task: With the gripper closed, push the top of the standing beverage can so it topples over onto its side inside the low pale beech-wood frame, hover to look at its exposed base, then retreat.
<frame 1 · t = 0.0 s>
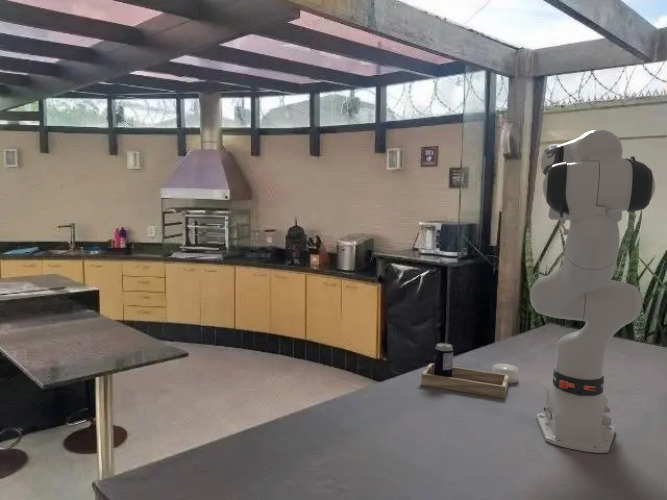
hand: (582, 235, 161), 48 cm above the table, fingers open, 8 cm apart
soap bar: (504, 379, 172), on the table
beverage can: (442, 382, 168), resting in frame
frame: (464, 385, 165), on the table
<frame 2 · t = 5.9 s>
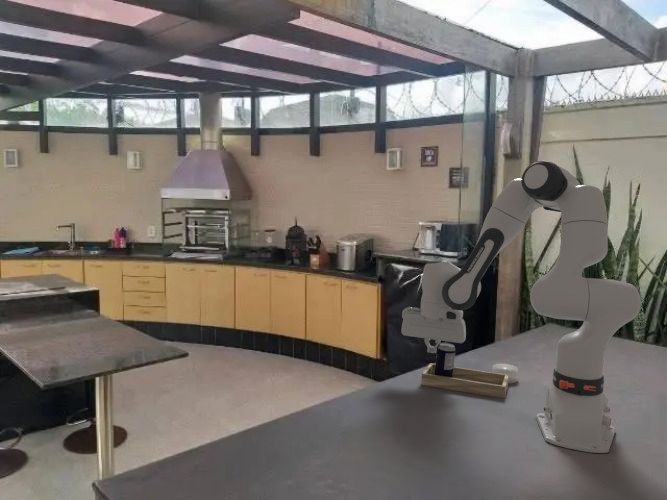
hand: (431, 352, 168), 9 cm above the table, fingers closed
beverage can: (442, 381, 168), resting in frame, touching gripper
everything else where it was.
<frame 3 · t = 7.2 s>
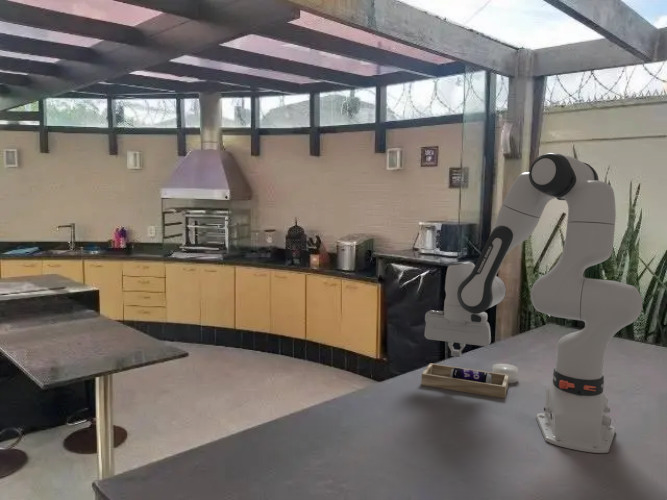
hand: (456, 356, 165), 9 cm above the table, fingers closed
beverage can: (450, 376, 165), point 3 cm above the table, touching frame
everything else where it was.
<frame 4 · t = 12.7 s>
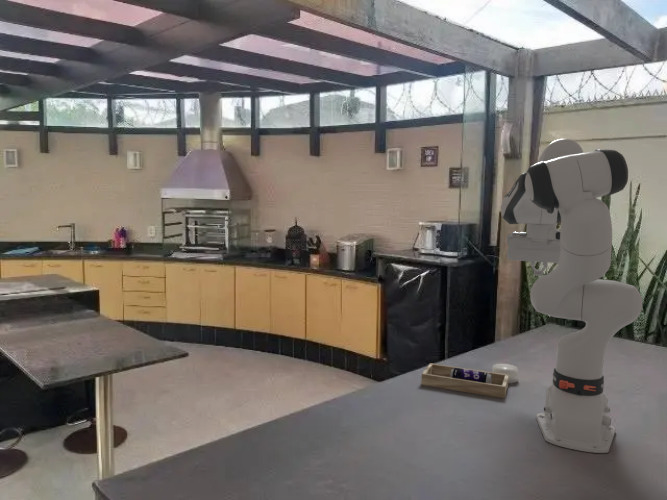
hand: (538, 275, 171), 34 cm above the table, fingers closed
nothing on the table moved.
at the end: beverage can tilted 90°; beverage can inside the target area on the frame (4.6 cm from its centre), point 2.8 cm above the frame's base; soap bar touching table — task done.
